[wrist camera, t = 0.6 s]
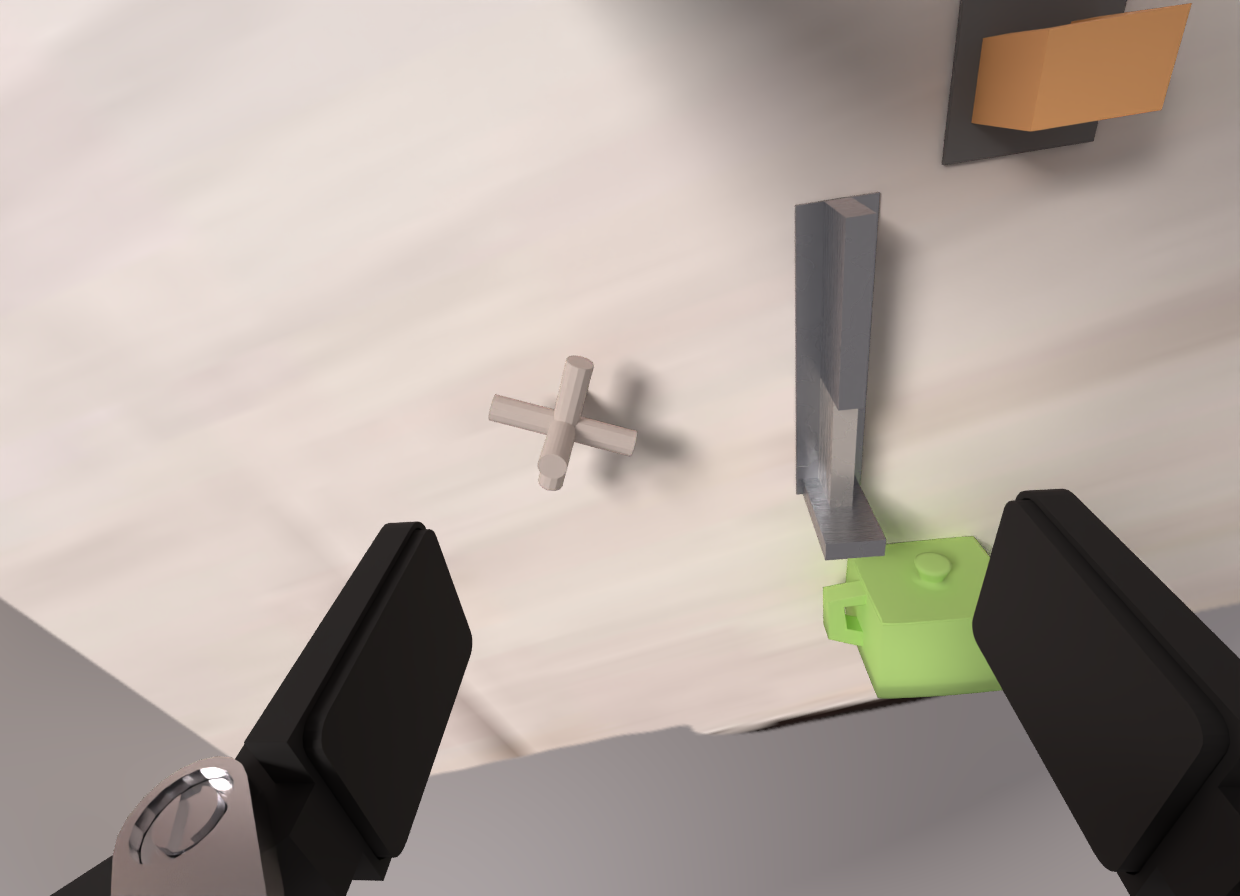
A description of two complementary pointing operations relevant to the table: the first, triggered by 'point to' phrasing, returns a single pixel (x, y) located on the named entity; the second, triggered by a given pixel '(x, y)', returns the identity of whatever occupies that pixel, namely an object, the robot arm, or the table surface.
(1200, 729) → the robot arm
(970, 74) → the pad
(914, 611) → the green square teapot
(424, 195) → the table surface
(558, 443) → the pipe connector
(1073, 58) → the clip
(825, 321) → the rail
